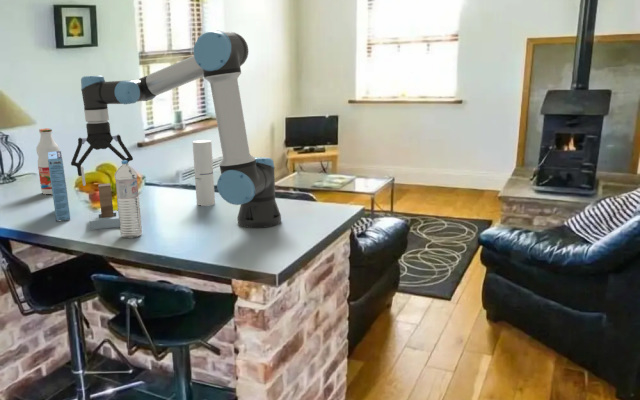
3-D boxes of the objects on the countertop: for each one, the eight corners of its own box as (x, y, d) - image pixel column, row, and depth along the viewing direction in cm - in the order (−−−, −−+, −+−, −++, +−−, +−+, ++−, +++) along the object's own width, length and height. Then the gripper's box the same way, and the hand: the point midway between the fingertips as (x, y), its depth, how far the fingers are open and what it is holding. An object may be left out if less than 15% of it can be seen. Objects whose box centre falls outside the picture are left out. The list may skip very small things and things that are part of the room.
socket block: (126, 225, 210) (125, 217, 209) (90, 229, 206) (89, 221, 205) (125, 217, 221) (124, 209, 220) (90, 221, 217) (89, 213, 216)
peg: (114, 224, 212) (110, 185, 209) (102, 225, 211) (98, 186, 208) (114, 221, 216) (110, 183, 213) (102, 222, 215) (98, 184, 212)
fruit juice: (69, 191, 266) (61, 128, 259) (48, 195, 259) (40, 130, 252) (58, 189, 272) (50, 127, 265) (37, 193, 264) (29, 129, 258)
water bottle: (130, 239, 194) (123, 163, 188) (116, 236, 197) (108, 161, 192) (146, 234, 200) (140, 159, 194) (132, 231, 203) (125, 158, 197)
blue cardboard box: (70, 220, 219) (62, 158, 214) (55, 222, 217) (47, 159, 212) (69, 208, 236) (62, 150, 231) (55, 210, 234) (47, 151, 229)
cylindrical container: (213, 206, 236) (209, 142, 230) (195, 206, 236) (190, 142, 230) (216, 201, 243) (212, 139, 237) (199, 201, 243) (194, 140, 237)
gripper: (135, 118, 213) (141, 177, 217) (58, 123, 205) (67, 184, 210) (136, 120, 206) (142, 181, 211) (57, 125, 198) (66, 188, 203)
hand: (105, 183), depth 210 cm, fingers open, 13 cm apart
